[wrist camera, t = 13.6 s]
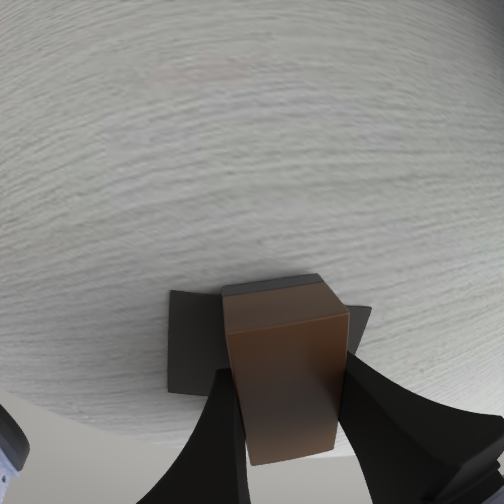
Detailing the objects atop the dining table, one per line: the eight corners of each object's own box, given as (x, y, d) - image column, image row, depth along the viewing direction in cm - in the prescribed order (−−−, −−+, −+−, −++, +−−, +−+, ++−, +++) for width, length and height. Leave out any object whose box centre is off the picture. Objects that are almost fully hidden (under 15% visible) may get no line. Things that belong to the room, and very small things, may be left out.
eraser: (315, 404, 13) (334, 450, 10) (243, 416, 13) (251, 466, 10) (318, 272, 11) (350, 311, 8) (221, 286, 10) (224, 333, 8)
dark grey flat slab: (336, 394, 13) (337, 396, 13) (167, 390, 12) (167, 392, 12) (370, 306, 12) (372, 308, 12) (170, 289, 10) (170, 291, 10)
